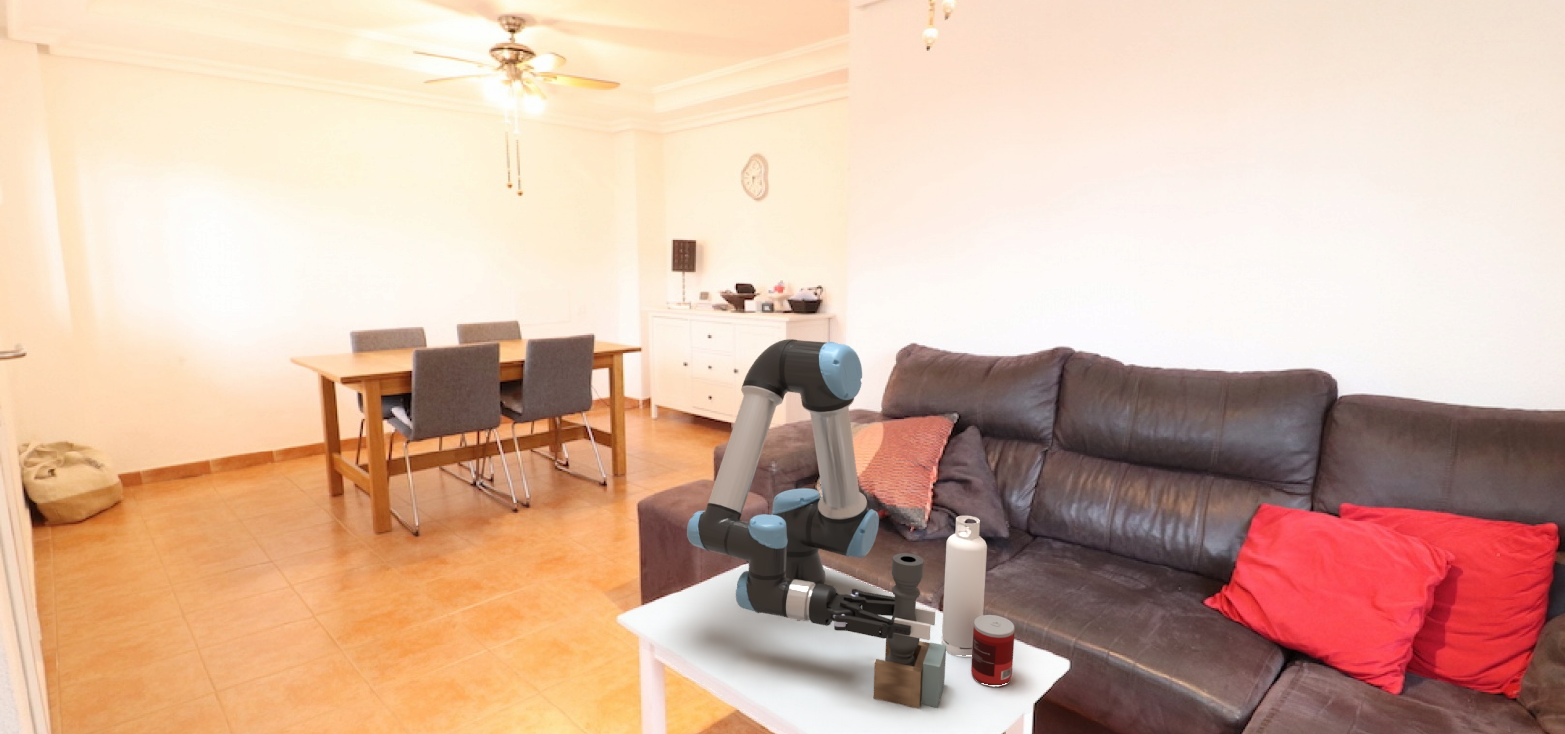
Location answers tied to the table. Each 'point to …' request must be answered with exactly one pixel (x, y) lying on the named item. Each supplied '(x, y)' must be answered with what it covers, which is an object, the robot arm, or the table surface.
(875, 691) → the cradle
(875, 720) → the table surface
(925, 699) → the block
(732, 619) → the table surface
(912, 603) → the candle holder
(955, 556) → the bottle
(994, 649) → the canned food
